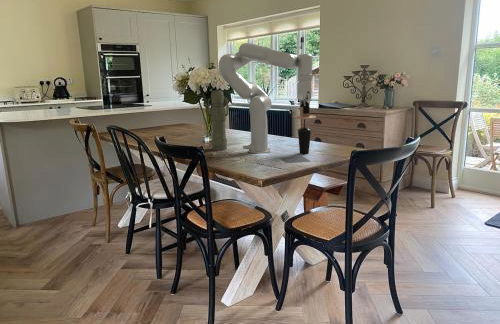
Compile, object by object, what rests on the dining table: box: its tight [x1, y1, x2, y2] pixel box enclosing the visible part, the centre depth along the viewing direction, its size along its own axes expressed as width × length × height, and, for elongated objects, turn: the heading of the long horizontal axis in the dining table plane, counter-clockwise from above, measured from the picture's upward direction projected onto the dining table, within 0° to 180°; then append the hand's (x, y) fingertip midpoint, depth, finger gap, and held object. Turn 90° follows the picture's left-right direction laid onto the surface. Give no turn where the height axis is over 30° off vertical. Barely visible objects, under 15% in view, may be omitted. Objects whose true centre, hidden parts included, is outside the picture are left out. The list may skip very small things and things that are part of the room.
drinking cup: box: [296, 119, 312, 155], centre depth 206 cm, size 8×8×20 cm
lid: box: [293, 106, 317, 120], centre depth 203 cm, size 12×12×6 cm
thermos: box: [207, 89, 229, 152], centre depth 223 cm, size 9×12×35 cm
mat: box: [279, 155, 312, 164], centre depth 194 cm, size 13×13×1 cm
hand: (304, 112), depth 203 cm, fingers open, 4 cm apart
